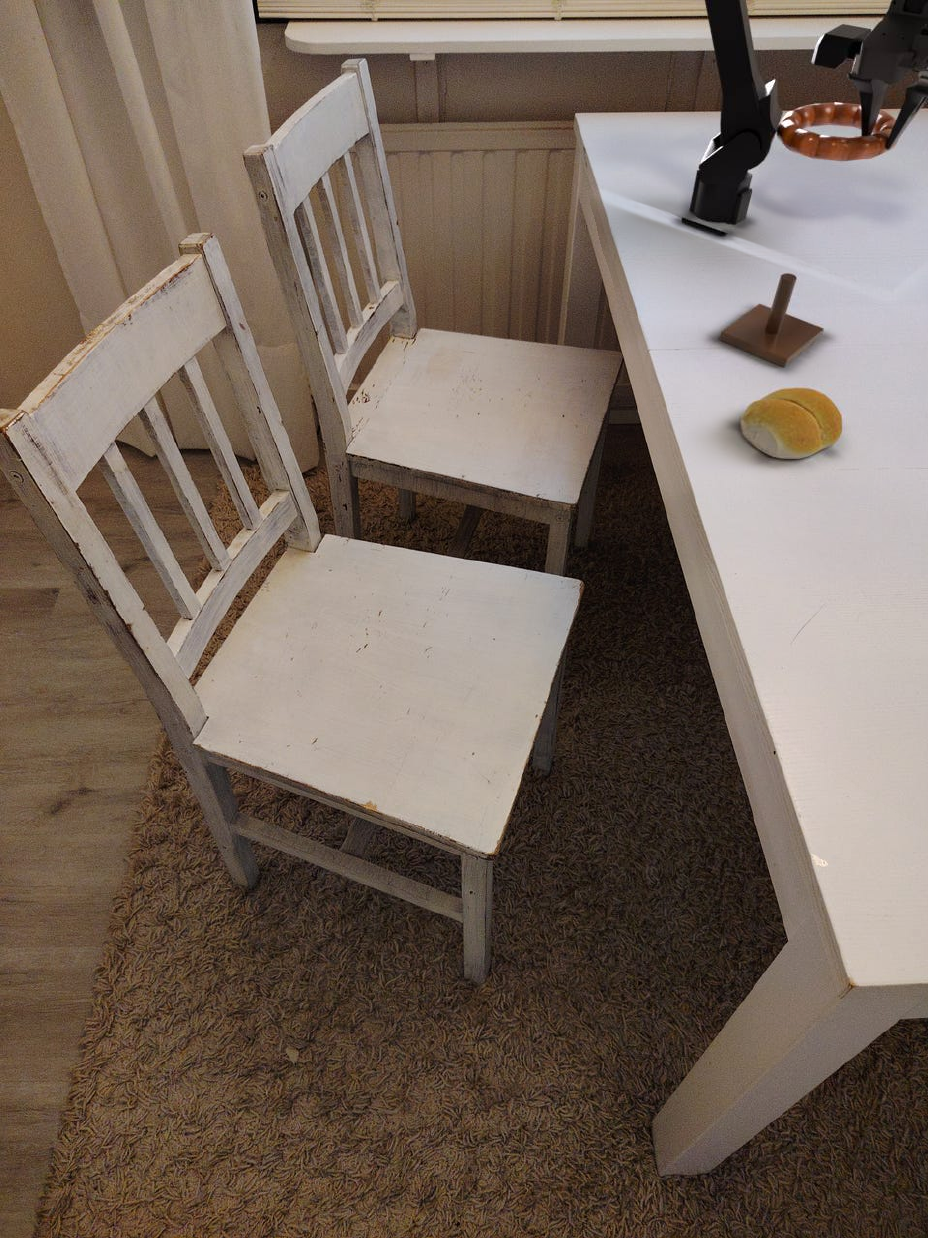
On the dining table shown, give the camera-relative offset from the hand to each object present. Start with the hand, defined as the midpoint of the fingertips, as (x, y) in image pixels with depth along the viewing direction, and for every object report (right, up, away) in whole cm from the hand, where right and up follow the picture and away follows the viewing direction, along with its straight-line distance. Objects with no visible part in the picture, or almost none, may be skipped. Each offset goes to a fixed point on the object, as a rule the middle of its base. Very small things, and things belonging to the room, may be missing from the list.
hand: (876, 145), depth 93 cm
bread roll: (-17, -38, -16) cm, 45 cm away
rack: (-15, -25, -5) cm, 29 cm away
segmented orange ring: (-3, +4, +3) cm, 6 cm away
